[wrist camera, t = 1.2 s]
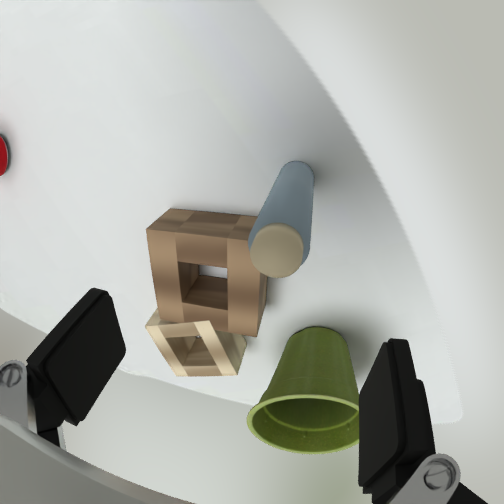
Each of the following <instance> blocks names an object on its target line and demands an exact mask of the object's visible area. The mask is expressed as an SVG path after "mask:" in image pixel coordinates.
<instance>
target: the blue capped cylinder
mask: <svg viewBox="0 0 504 504" xmlns="http://www.w3.org/2000/svg"><path fill="white" fill-rule="evenodd" d="M313 189H314V174H313V172H312V170H311V168H310V167H309V166H308V165H307V164H305V163H303V162H300V161H292V162H289V163H287V164H286V165H284V166H283V168H282V169H281V171H280V173H279V175H278V177H277V179H276V181H275V183H274V185H273V187H272V189H271V191H270V193H269V195H268V197H267V199H266V201H265V203H264V205H263V207H262V209H261V212H260V214H259V216H258V218H257V220H256V222H255V224H254V226H253V228H252V230H251V232H250V234H249V238H248V247H249V251H250V258H251V261H252V263H253V265H254V266H255V268H256V269H257V270H258V271H259V272H261V273H262V274H264V275H266V276H269V277H273V278H283V277H287V276H290V275H291V274H293V273H294V272H296V271H297V270H298V268H299V267H300V266H301V265H302V264H303V263H304V262H305V260H306V259H307V257H308V254H309V250H310V239H311V224H312V207H313Z"/></svg>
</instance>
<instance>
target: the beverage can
mask: <svg viewBox="0 0 504 504" xmlns="http://www.w3.org/2000/svg"><path fill="white" fill-rule="evenodd" d="M7 164H8V149H7V145H6V143H5V141H4V140H3V138H2V137H1V136H0V176H1V175H3V174H4V172H5V171H6V168H7Z"/></svg>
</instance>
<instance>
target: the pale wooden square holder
mask: <svg viewBox="0 0 504 504" xmlns="http://www.w3.org/2000/svg"><path fill="white" fill-rule="evenodd" d="M145 328H146V329H147V331H148V333H149V334H150V336H151V338H152V339H153V341H154V342H155V344H156V346H157V347H158V349H159V350H160V352H161V354H162V355H163V357H164V358H165V360H166V361H167V363H168V364H169V366H170V367H171V369H172V370H173V372H174V373H175V375H176V376H233V375H238V371H239V368H240V365H241V362H242V359H243V355H244V352H245V349H246V346H247V344H246V342H245V339H244V337H243V335H240V334H235V333H229V332H223V331H217V330H214V329H213V327H212V325H211V323H210V321H199V322H189V323H176V322H171V321H167V320H162V319H160V317H159V311H158V308H157V309H156V311H155V312H154V314H153V315H152V316H151V318H150V319H149V321H148V322H147V324H146V325H145ZM198 335H201V337H202V338H196V337H195V336H198Z"/></svg>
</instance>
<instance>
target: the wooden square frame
mask: <svg viewBox="0 0 504 504" xmlns="http://www.w3.org/2000/svg"><path fill="white" fill-rule="evenodd" d="M257 218H258V217H255V216H246V215H236V214H226V213H215V212H204V211H193V210H182V209H169V210H168V211H166V212H165V213H164V214H163V215H162V216H161V217H159V218H158V219H157V220H156V221H155V222H154V223H152V224H151V225H150V226H149V227H148V228H147V229H146V233H147V241H148V249H149V256H150V263H151V270H152V276H153V282H154V289H155V294H156V300H157V306H158V311H159V317H160V319H162V320H167V321H171V322H176V323H189V322H199V321H210V323H211V325H212V327H213V329H214V330H217V331H223V332H229V333H235V334H240V335H247V336H253V337H257V334H258V330H259V327H260V323H261V319H262V316H263V312H264V308H265V302H266V288H267V276H266V275H264V274H262V273H261V272H259V271H258V270H257V269H256V268H255V266H254V265H253V263H252V261H251V258H250V251H249V247H248V238H249V234H250V232H251V230H252V228H253V226H254V224H255V222H256V220H257ZM199 264H201V265H208V266H215V267H222V268H227V279H225V278H218V277H211V276H204V275H199Z"/></svg>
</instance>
